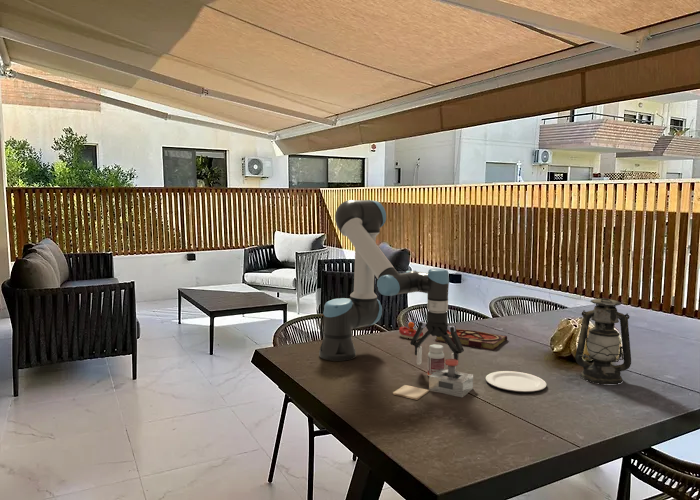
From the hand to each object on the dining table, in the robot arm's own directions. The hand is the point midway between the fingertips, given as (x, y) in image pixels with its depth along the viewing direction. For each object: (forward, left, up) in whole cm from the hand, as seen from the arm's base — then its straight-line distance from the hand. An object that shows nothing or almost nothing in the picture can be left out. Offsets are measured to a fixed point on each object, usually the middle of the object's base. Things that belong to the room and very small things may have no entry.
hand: (435, 367), depth 193 cm
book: (-7, +56, -4) cm, 56 cm away
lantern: (+53, +30, -3) cm, 61 cm away
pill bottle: (0, 0, -3) cm, 3 cm away
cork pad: (0, -21, -3) cm, 21 cm away
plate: (+27, +8, -4) cm, 29 cm away
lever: (+10, -10, +1) cm, 14 cm away
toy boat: (-32, +45, -4) cm, 55 cm away
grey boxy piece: (+10, -10, -3) cm, 14 cm away
